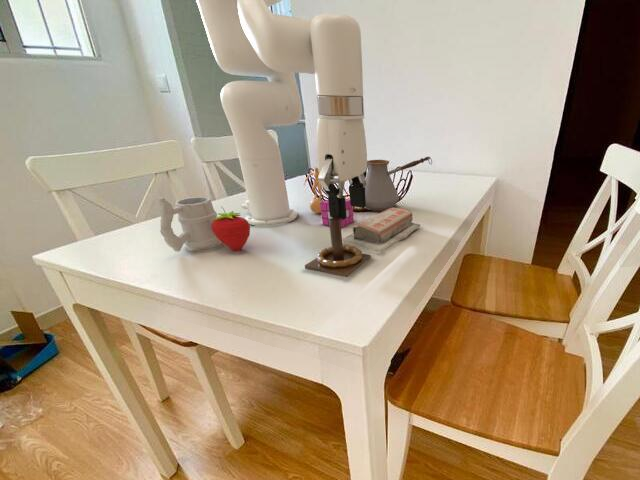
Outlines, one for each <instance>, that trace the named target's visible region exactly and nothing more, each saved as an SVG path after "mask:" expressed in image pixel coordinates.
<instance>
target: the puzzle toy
mask: <svg viewBox="0 0 640 480" xmlns="http://www.w3.org/2000/svg"><path fill="white" fill-rule="evenodd" d="M322 201H323V202H321V203H320V206H321V213H320V214H321V221H322V222H321V223H322V225H323V226H328V227H330V226H329V219H331V218H332V217H330V211H329V201H328V199H326V200H322ZM345 202H346V215H347V218H346V219H340V224H341V229H342V228H344V227H346V226H348V225H350V224H351V223H354V221H355V219H354V208H353V207H354V206H351V204H350V198H349V199H348V198H345Z"/></svg>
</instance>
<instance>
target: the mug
mask: <svg viewBox="0 0 640 480" xmlns="http://www.w3.org/2000/svg"><path fill="white" fill-rule="evenodd" d="M157 199H158V201H159V207H160V210H159V211H160V229H159V232H160V235H161V236H162V237H163V240H164V242H165V243H166V245H167V246H168V247H170V248H172V250H173V251H174V252H175V253H177V252H181V250H182V248H183V246H184V245H185V246H186V248H187V250H188V251H190V252H193V251H200V250H206V249H207V250H208V249H212V248H215V247H216V248H217V247H218V246H220V245H222V244H223V243H222V242H221V241H220V240H219V239H217V237H216V236H215V234H214V233H213V231H212V223H213V221H214V220H212V219H214V218H217V217H218V213H217V211H216V210H215V208H214V206H213V203H212V199H211V198H210V197H205V196H192V197H186V198H183V199H178V200H176V201H175V203H174V204H175V206H174V207H173V205H172V204H171V202H169V201H168V200H166V198H164V197H161V196H159V197H157ZM176 214H177V221H178V222H179V224H180V226H181V230H182V232H181V233H180V234H179V235H177V234H175V231H174V230H173V227H172V222H173V219H174V216H175V215H176Z"/></svg>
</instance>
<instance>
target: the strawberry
mask: <svg viewBox="0 0 640 480" xmlns="http://www.w3.org/2000/svg"><path fill="white" fill-rule="evenodd" d="M220 207H221V208H222V210H223V211H224V213H223V212H221V213H220V212H219V213H217V215H218V216H217V217H216V218H214V219H212V220H214V221H213V223H212V231H213V233H214V234H215V236H216V237H217V239H219V240H220V241H221V242H222V244H223V245H224V246H226V247H227V248H229V249H230V250H232V251H233V252H239V251H240V252H241V251H242V250H243V248H244V246H245V245H246V243H247V241H248V239H249V237H250V235H251V224H249V223H248V221H247V220H246V218H244V217H241V212H234V210H233V211H229V212H226V210H225V208H224V207H223V206H222V205H221V206H220Z"/></svg>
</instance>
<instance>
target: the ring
mask: <svg viewBox="0 0 640 480" xmlns="http://www.w3.org/2000/svg"><path fill="white" fill-rule="evenodd" d="M344 251H346V252H351V253H354V254H355V255H356V256H354V257H353V258H351V259H347V260H344V261H331V260H326V259H325V258H324V256H326V255H328V254H330V253H332V246H329V247H325V248H324V249H322V250H320V251H319V252H318V253H317V256H316V258H317V261H318V262H319V263H320V264H322V265H323V266H327V267H332V268H337V267H347V266H350V265H353V264H356V263H357V262H358V261H360V260H361V259H362V253H363V252H362V250H361V249H359V248H358V247H356V246H351V245H347V244H344V245H343V252H344Z"/></svg>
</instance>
